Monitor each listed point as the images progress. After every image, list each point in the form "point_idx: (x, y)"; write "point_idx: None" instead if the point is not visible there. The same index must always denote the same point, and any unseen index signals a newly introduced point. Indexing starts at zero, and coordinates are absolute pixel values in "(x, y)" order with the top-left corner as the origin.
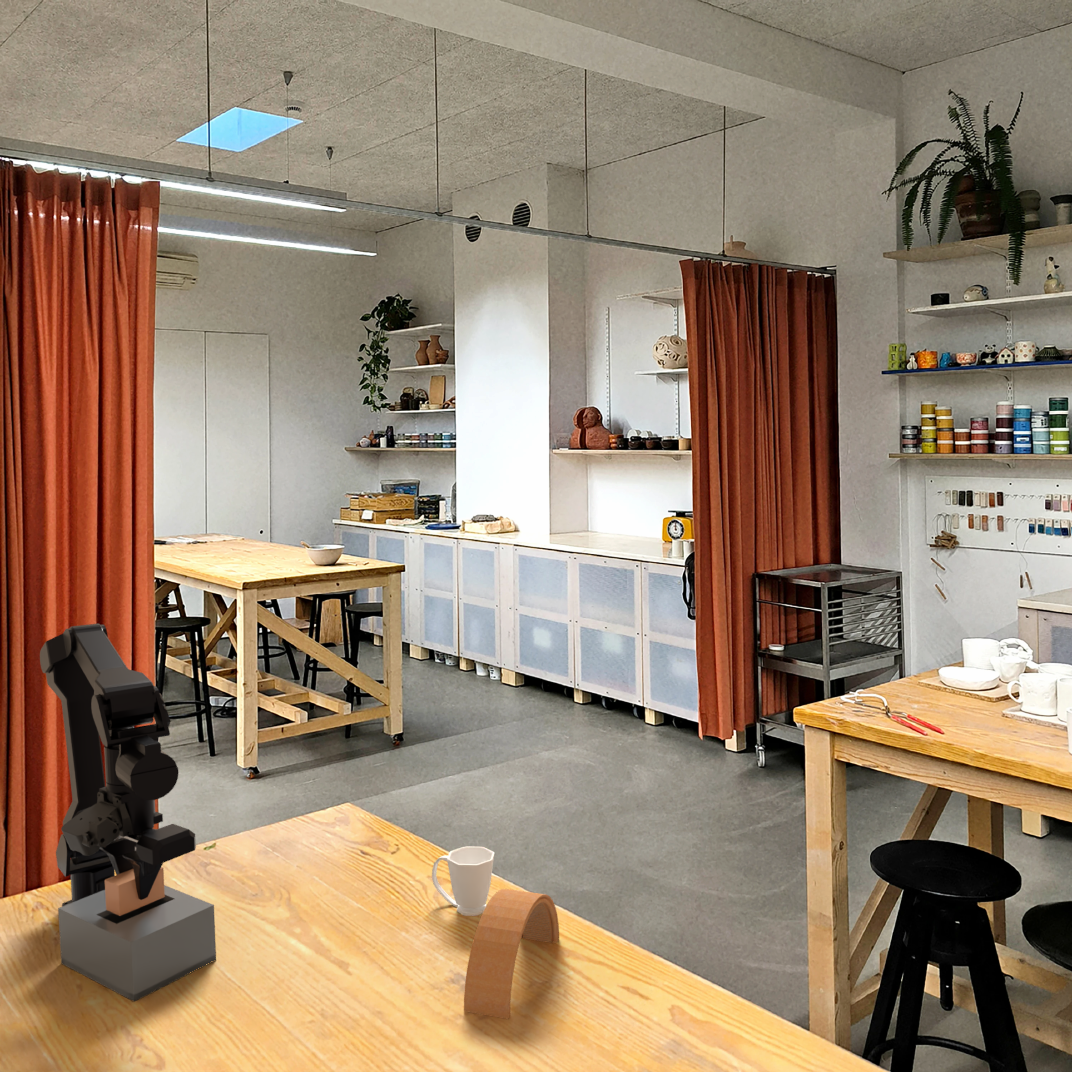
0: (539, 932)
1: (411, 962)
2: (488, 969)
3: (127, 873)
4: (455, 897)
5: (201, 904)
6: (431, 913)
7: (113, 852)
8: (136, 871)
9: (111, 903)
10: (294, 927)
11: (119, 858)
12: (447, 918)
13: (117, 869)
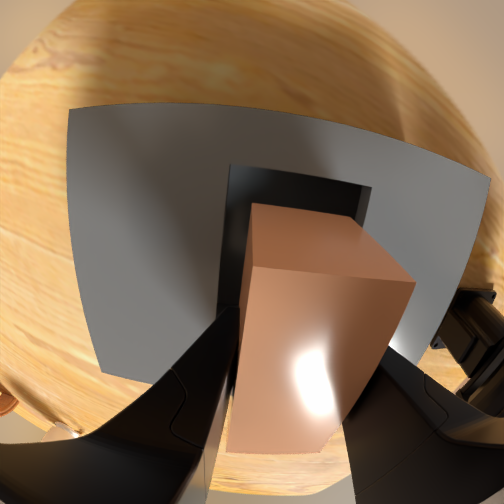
0: (4, 398)
1: (11, 356)
2: None
3: (337, 386)
4: (63, 435)
5: (124, 368)
6: (77, 423)
7: (456, 457)
8: (174, 408)
9: (320, 223)
10: (143, 392)
11: (413, 437)
12: (62, 418)
13: (401, 379)
